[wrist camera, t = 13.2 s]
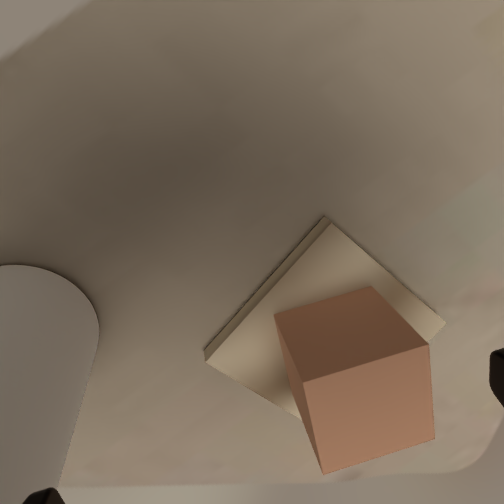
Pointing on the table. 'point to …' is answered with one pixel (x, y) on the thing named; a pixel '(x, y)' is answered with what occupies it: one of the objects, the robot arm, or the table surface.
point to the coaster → (299, 294)
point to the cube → (357, 377)
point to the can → (40, 375)
